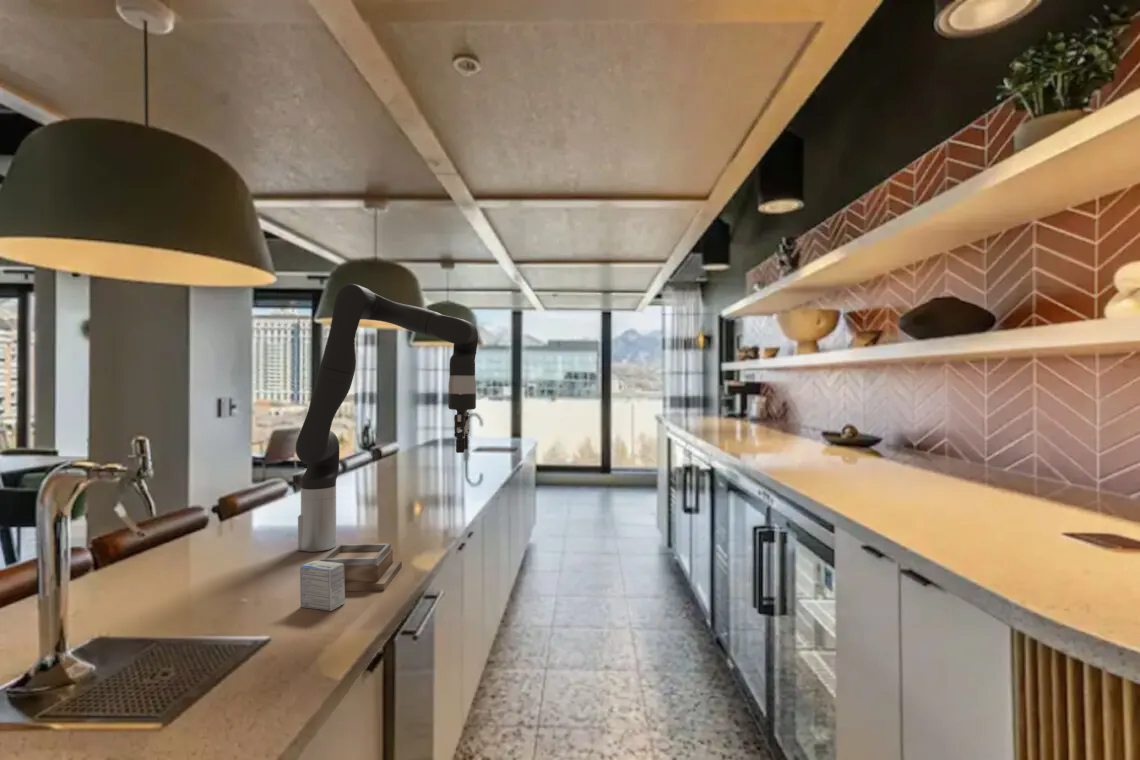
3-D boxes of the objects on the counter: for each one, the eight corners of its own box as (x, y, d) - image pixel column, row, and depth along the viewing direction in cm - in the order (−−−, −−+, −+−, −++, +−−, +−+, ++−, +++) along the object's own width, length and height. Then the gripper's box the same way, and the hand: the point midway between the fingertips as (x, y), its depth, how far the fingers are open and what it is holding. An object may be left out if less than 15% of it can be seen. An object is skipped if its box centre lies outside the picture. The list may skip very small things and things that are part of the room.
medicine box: (345, 604, 125) (345, 563, 125) (330, 612, 121) (330, 569, 121) (315, 600, 128) (315, 559, 128) (299, 607, 124) (299, 565, 124)
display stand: (306, 592, 133) (306, 562, 133) (333, 568, 150) (332, 542, 150) (384, 590, 134) (384, 561, 134) (401, 566, 150) (401, 541, 151)
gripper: (451, 391, 172) (451, 448, 172) (445, 392, 158) (444, 454, 158) (478, 391, 172) (477, 447, 172) (473, 392, 158) (473, 453, 158)
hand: (461, 450), depth 165 cm, fingers open, 8 cm apart
